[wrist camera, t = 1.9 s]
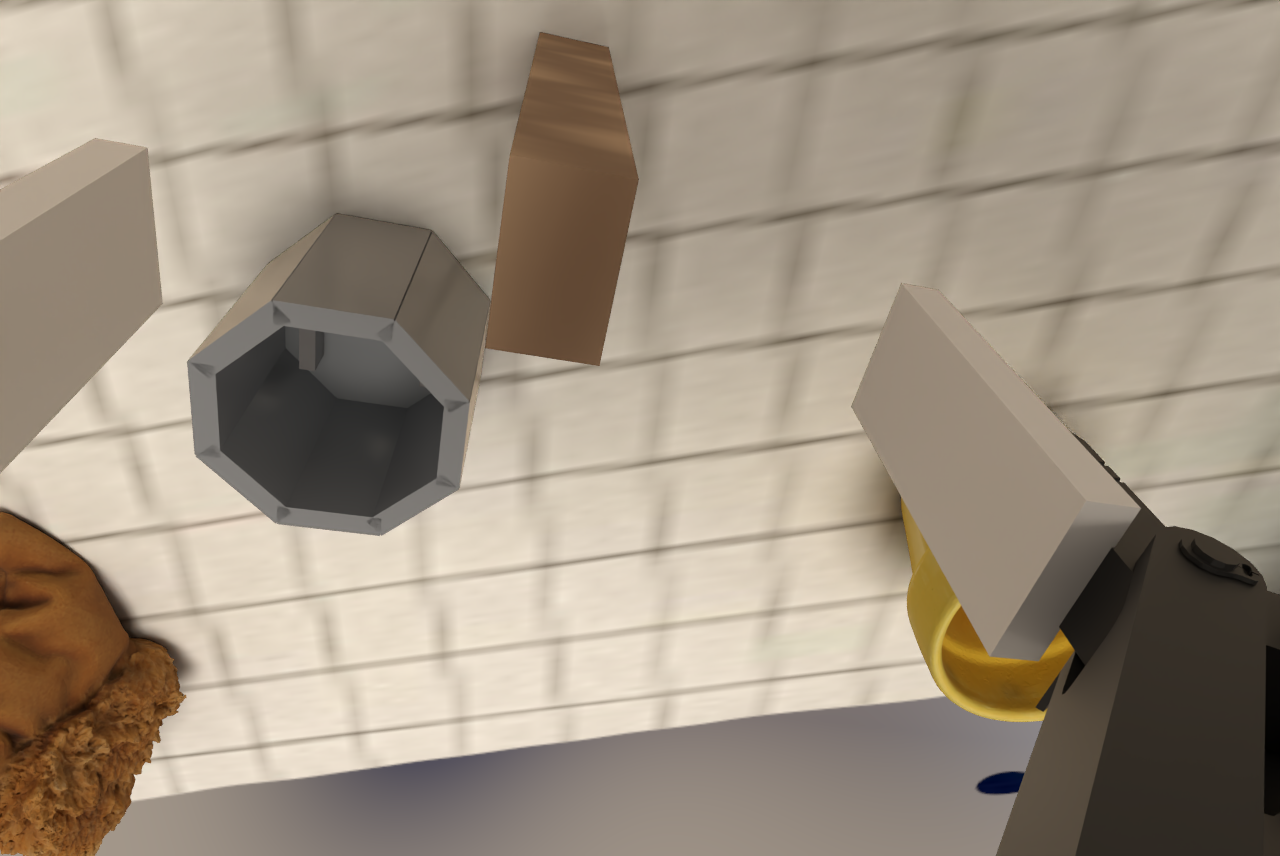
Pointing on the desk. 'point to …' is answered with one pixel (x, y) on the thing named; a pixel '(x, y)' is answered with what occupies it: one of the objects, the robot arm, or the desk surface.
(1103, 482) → the robot arm
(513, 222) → the tan wooden beam
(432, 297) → the jar
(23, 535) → the stuffed squirrel
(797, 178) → the desk surface
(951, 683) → the plant pot
